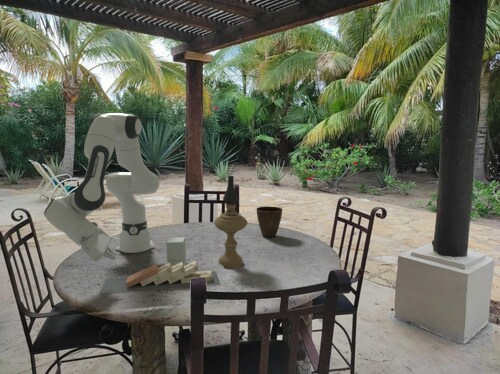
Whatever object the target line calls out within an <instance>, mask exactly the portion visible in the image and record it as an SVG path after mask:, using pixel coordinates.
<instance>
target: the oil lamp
mask: <svg viewBox="0 0 500 374" xmlns="http://www.w3.org/2000/svg"><path fill="white" fill-rule="evenodd" d="M234 177H235V176H234V175H228V176H227V187H226V190H225V192H224V195H223V197H222V199H223V202H224V203H225V208H226V210H225V212H223V213H221V214H220V215H219V216H218V217H216V219H215V220H214V222H213V224H214V226H215V227H216V229H219V230H220V231H222V232H224V233H225V234H226V235H227V239H225V242H224V243H223V245H224V247H225V251H224V253H223V254H221V256H220V257H219V258H218V264H220V265H221V266H223V268H227V269H236V268H239V267H241V266H243V265H244V261H243V257H242V256H241V255H240V254H239V253H238V252H237V250H236V249H237V246H238V241H236V238H235V234H236V233H237V232H239V231H242V230H243V229H244V228H246V226H247V225H248V221H247V219H246V218H245V217H244V216H243V215H242V214H241V213H240V212H237V211H236V207H237V205H236V204H237V203H238V201H239V199H240V198H239V195H238V194H237V192H236V188H235V184H234Z"/></svg>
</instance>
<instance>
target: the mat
mask: <svg viewBox="0 0 500 374" xmlns="http://www.w3.org/2000/svg"><path fill="white" fill-rule="evenodd" d="M211 273H212V281H207V286H206V287H209V286H221V282H220V279H219V277H218V274H217V271H216V270H215V271H214V270H213V271H211ZM127 278H128V277H120V278H105V280H104V282H103V284H102V287H101V289H100V291H99V293H98V295H111V294H112V295H113V294H123V293H135V292H136V293H137V292H145V291H147V292H148V291H160V290H161V291H162V290H172V289H173V290H174V289H186V288H191V287H190V283H181V279H180V280H178V281H176V282H173V283H171V284H170V283H169V281H168V280H166V281H164V282H162V283H160V284H158V285H155V283H154V281H153V282H151V283H149V284H147V285H145V286H142V285H141V283H140V282H139V283H137V284H135V285H133V286H131V287H129V288H128V286H127V284H126V281H127Z"/></svg>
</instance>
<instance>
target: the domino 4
mask: <svg viewBox="0 0 500 374" xmlns="http://www.w3.org/2000/svg"><path fill="white" fill-rule="evenodd" d="M184 268H185V272H183V273H181V274H179V275H177V276H175V277H173V278H170V279H168V281H169V283H170V284H171V283H173V282H176V281H178V280H180V279H182V278H184V277H186V276H188V275H190V274H192V273H194V272H199V266H198V263H197V261H196V260H193V261H191V262H190V263H188V264H187V263H186V265H185V266H184Z"/></svg>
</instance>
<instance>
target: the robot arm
mask: <svg viewBox="0 0 500 374" xmlns="http://www.w3.org/2000/svg"><path fill="white" fill-rule="evenodd" d="M142 125H143V124H142V120H141V118H139V116H137V115H135V114H132V113H128V114H127V113H120V112H113V113H111V112H110V113H101V112H100V113H95V114H93V115H92V116H91V117H90V119H89V123H88V126H89V129H88V131H87V134H86V137H85V141H84V147H83V154H84V156H85V158H86V159H88V164H87V167H86V172H85V177H84V179H83V181H82V182H81V183H79V185H78V186H76V187H77V188H76V189H75V191H74V192H72V193H70V194H67V195H63V196H59V197H58V196H57V197H54V198H53V199H52V200H51V201H50V202H49V203H48V205H47V207H45V210H44V213H43V215H44V218H45V219H46V221H48V222H49V223H50V224H51V225H52V226H53V227H55V228H56V229H57V230H58V231H60V232H62V233H64V234H65V235H66V236H67V237H68V239H70V240H71V241H72V242H73V243H75V245H77V246H78V247H80V246H81V247H80V249H81V250H82V251H83V252H84V254H86V255H87V256H88V257H89V258H90V259H92V261H95V262H98V261H99V260H100V259H101V258H102V257H103V256H104V257H105V258H108V259H110V260H111V261H114V259H115V258H116V256H117V254H116V253H115V252H114V251H113V250H112V248H111V247H110V246H109V245H110V242H111V241H112V239H111V237H110V235H108V234H107V233H106V231H104V230H103V228H100V227H99V224H98V223H96V222H95V221H90V220H89V219H87V216H88V215H91V214H92V213H94V212H95V211H97V209H99V208H101V206H103V205H104V202H105V200H106V191H105V187H106V189H107V191H108V192H109V193H111V195H113V197H115V198H116V200H117V201H118V202H119V205H120V207H121V215H122V222H121V229H122V231H120V233H119V235H118V238H119V239H118V240H119V242H118V245H117V246H116V247H115V251H120V252H122V253H125V254H126V253H127V254H130V253H131V254H134V253H135V254H136V253H141V252H142V253H143V252H145V251H149V250H151V249H152V250H153V249H155V244H154V242H153V241H152V238H151V232H150V230H148V223H147V222H148V221H147V218H146V217H147V215H146V214H147V213H146V205H144V203H143V202H141V201H139V200H137V199H136V198H135V196H134V195H137V196H139V195H141V196H143V195H150V194H155V193H157V191H158V190H159V189H160V188H159V187H160V179H159V177H158V176H157V174H156V173H154V172H152V171H151V170H149V168H148V167H147V166H146V164H145V163H144V161H143V157H142V153H141V152H142V151H141V146H140V140H139V137H140V135H141V133H142V127H143V126H142ZM114 149H115V155H116V161H117V163H118V165H119V166H120V167H122V168H124V169H125V170H127V171H128V172H126V171H125V172H124V171H123V172H120V171H119V172H114V173H110V174H109V175H108V176H107V177H106V181H105V183H104V180H105V176H106V172H107V168H108V163H109V161H110V160H111V157H112V155H113V154H114V153H113V152H114ZM104 184H105V185H104Z"/></svg>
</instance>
